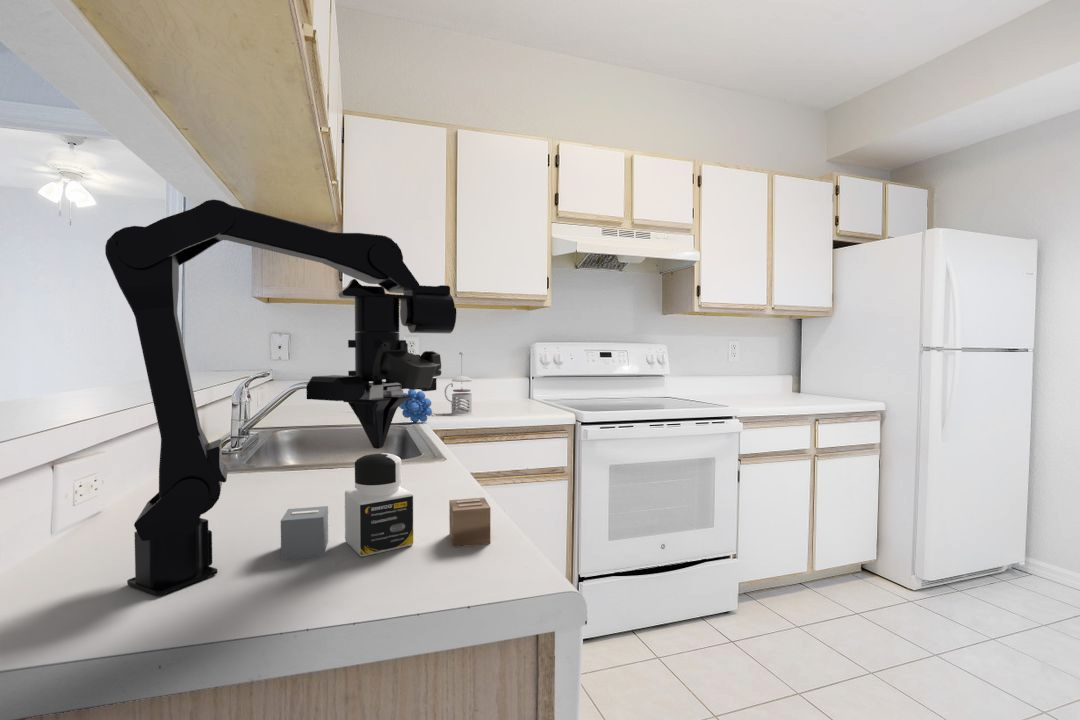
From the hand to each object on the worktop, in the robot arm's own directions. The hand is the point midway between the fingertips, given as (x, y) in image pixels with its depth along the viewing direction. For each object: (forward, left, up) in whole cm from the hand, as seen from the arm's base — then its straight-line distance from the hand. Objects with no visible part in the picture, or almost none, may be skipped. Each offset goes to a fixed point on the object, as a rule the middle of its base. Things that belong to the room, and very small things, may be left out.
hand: (378, 448), depth 71 cm
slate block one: (-6, +7, -13) cm, 16 cm away
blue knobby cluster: (+92, +70, -13) cm, 116 cm away
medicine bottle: (0, 0, -13) cm, 13 cm away
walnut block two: (+7, -10, -13) cm, 18 cm away
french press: (+119, +70, -13) cm, 139 cm away
